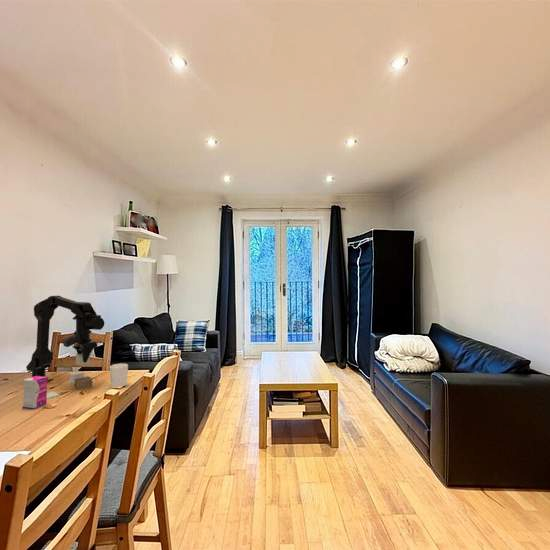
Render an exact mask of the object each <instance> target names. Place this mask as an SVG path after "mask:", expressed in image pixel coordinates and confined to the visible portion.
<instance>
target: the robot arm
mask: <svg viewBox="0 0 550 550" xmlns="http://www.w3.org/2000/svg"><path fill="white" fill-rule="evenodd" d="M59 307H60V308H64V309H67V310H69V311H70V312H71V313H72V314H74V315H75V316H73V317H72V320H75V331H74V332H73V335H69V336H67V337H66V338H62V339H61V342H62V345H63V347H65V348H69V347H71V348H73V349H75V351H76V353H77V354H82V356H83V362H84V363H85V362H87V360H88V358H89V356H91V353H92V352H93V350H94V349H97V348H98V342H96V341H93V340H92V338H91V333H92V330H95V331H97V330H98V331H100V330H102V329H103V328H104V327H105V320H104V319H103V317H102V316H101V315H100V314H97V312H96V310H95V309H94V307H93V305H92V303H91V302H87V301H75V300H73V299H69V298H66V297H63V296H61V295H50V296H48V297H47V298H46V299H44V300H42V301H39V302H38V303H36V304H35V305H34V307H33V316H34V318H35V319H36V320H37V325H36V327H37V331H36V332H37V333H36V344H35V345H36V348H35V350H34V351H33V353H32V355H31V360H30V361H29V362H28V363H27V365H26V367H25V368H26V371H27V372H31V377H34V376H42V377H47V376H46V369H47V368H50V367H51V365H52V361H53V360H54V357H53V354H54V353H53V351H51V350H50V348H49V342H50V341H49V340H50V339H49V338H50V323H51V319H52V318H53V317H54V315H55V310H56V309H58V308H59ZM47 380H48V381H49V379H48V378H47Z"/></svg>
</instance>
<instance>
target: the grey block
mask: <svg viewBox="0 0 550 550" xmlns="http://www.w3.org/2000/svg"><path fill="white" fill-rule="evenodd" d="M82 377H85V372H83V371H73V372H71V373H69V383H70V384H74V379H77V378H82Z"/></svg>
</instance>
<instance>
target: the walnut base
mask: <svg viewBox="0 0 550 550" xmlns="http://www.w3.org/2000/svg"><path fill="white" fill-rule="evenodd" d="M73 385H74V388H75V389H76V388H77V389H76V390H78V391H79V389H80V390H84V389H87V388H92V387H93V378H92V377H90V376H84V377H82V378H77V379H74V383H73Z"/></svg>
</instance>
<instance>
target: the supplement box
mask: <svg viewBox="0 0 550 550" xmlns="http://www.w3.org/2000/svg"><path fill="white" fill-rule="evenodd" d="M47 379H48V376H46V377H42V376H34V377H32V376H31V377H28V378H24V379H23V386H22V387H23V388H22V389H23V390H22V391H23V392H22V394H23V395H22V409H25V408H27V409H28V410H36V409H37V408H40V407H43V406H45V405H47V401H48V399H47V393H48V381H47Z"/></svg>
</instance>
